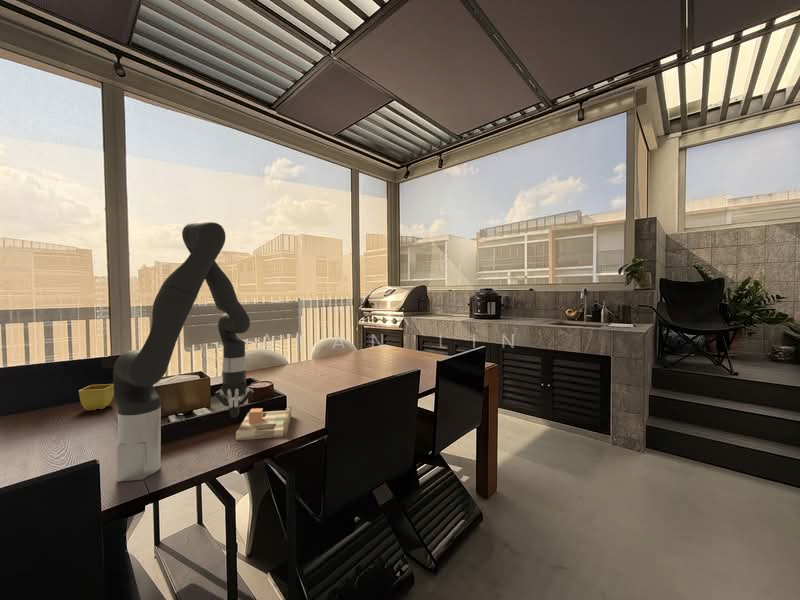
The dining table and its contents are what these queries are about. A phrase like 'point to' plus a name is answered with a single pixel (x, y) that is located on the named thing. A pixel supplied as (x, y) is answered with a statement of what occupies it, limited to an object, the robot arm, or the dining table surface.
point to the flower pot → (96, 396)
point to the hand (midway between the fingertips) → (234, 416)
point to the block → (255, 415)
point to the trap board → (266, 426)
